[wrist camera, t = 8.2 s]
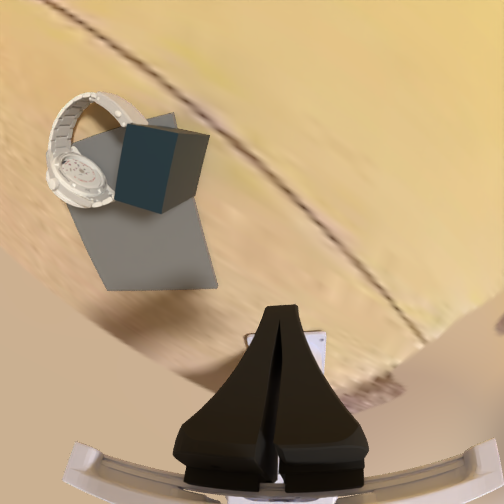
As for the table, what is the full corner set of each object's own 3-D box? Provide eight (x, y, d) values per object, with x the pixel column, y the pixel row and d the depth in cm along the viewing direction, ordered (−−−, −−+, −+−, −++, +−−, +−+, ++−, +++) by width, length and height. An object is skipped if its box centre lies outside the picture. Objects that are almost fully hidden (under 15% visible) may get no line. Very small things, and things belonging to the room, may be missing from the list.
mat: (218, 285, 26) (217, 288, 26) (108, 288, 28) (107, 290, 28) (173, 112, 18) (171, 113, 17) (51, 151, 20) (48, 153, 19)
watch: (189, 221, 21) (74, 187, 21) (216, 110, 18) (90, 92, 18) (155, 248, 16) (27, 202, 16) (186, 99, 13) (42, 87, 13)
